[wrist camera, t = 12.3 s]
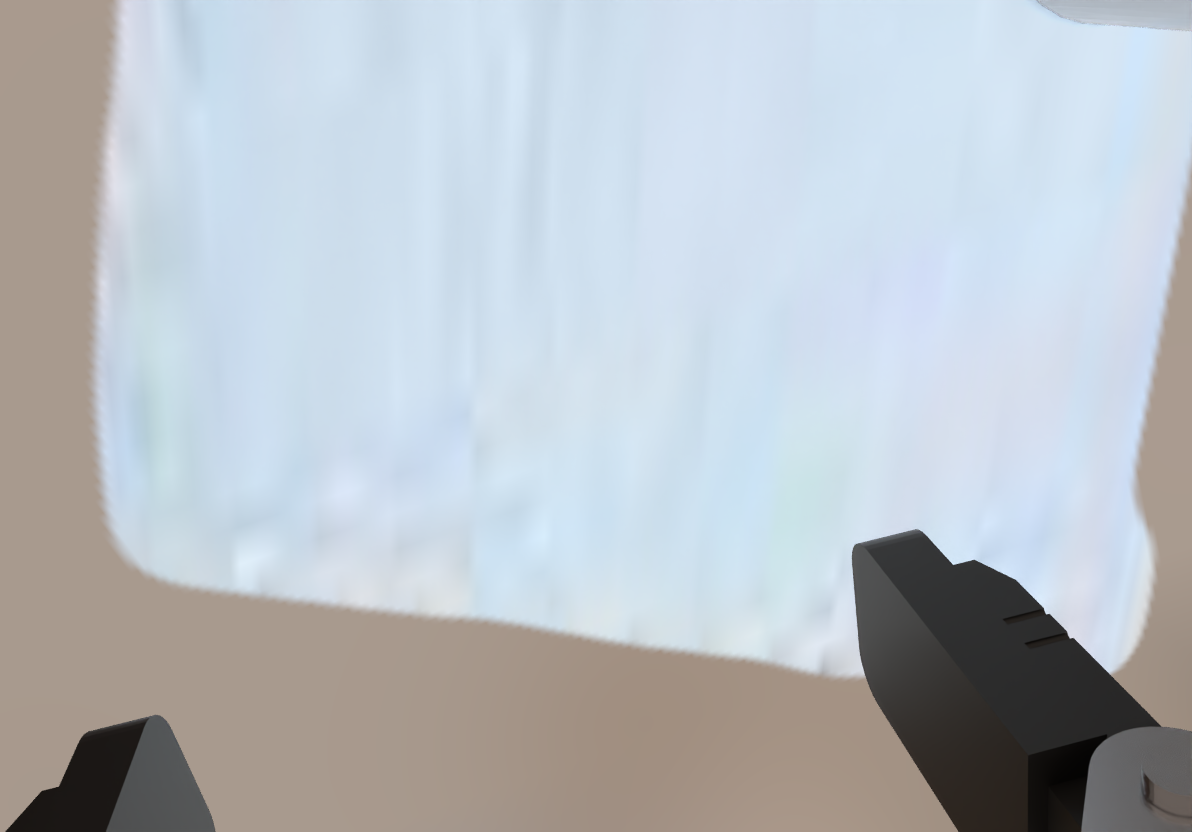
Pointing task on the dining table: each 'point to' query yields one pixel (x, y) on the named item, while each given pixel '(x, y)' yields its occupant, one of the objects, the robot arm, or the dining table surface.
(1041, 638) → the robot arm
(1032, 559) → the dining table surface
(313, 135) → the dining table surface
